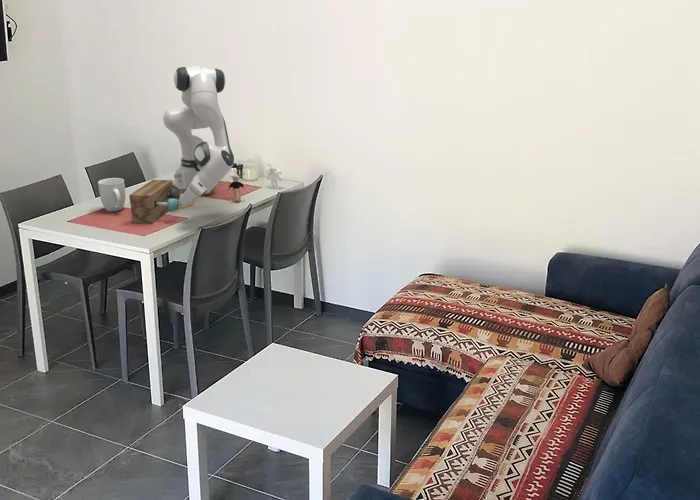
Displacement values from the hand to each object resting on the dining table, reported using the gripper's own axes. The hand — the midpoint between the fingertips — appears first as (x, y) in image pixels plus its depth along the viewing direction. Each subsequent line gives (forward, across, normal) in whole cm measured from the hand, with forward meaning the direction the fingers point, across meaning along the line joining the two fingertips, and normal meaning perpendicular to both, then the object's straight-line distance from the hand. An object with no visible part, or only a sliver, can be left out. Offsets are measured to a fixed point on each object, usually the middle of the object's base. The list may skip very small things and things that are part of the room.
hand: (182, 204), depth 317 cm
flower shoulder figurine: (-13, -55, +23) cm, 61 cm away
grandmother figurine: (-5, -31, +15) cm, 34 cm away
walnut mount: (+16, -7, -6) cm, 19 cm away
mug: (+31, -11, -20) cm, 38 cm away
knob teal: (+7, 0, -3) cm, 7 cm away
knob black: (+10, -15, -7) cm, 19 cm away
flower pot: (+8, -42, +2) cm, 43 cm away
